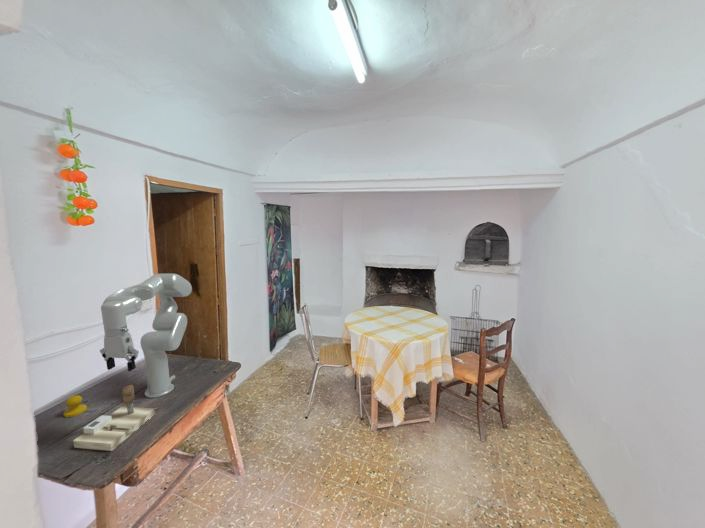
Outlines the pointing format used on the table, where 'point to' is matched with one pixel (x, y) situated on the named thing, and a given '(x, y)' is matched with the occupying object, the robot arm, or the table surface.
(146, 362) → the robot arm
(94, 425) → the block
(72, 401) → the doorknob
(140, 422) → the cream slotted tray
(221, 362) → the table surface
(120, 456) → the table surface
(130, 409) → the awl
